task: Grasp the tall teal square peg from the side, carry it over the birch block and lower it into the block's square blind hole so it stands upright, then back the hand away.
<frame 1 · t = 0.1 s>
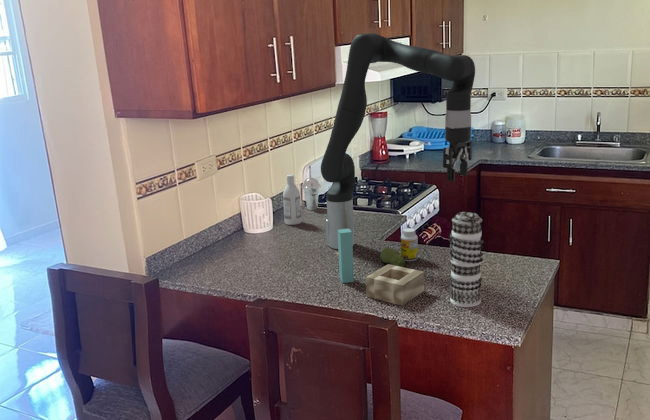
hand: (457, 178, 187), 29 cm above the worktop, tool pointing down, fingers open, 8 cm apart
peg: (346, 280, 189), on the worktop
decorative candle: (465, 301, 171), on the worktop
pear: (393, 265, 201), on the worktop
socket block: (395, 293, 178), on the worktop
supplement bottle: (409, 259, 205), on the worktop
bath foam: (293, 223, 252), on the worktop
cup with straw: (312, 209, 272), on the worktop
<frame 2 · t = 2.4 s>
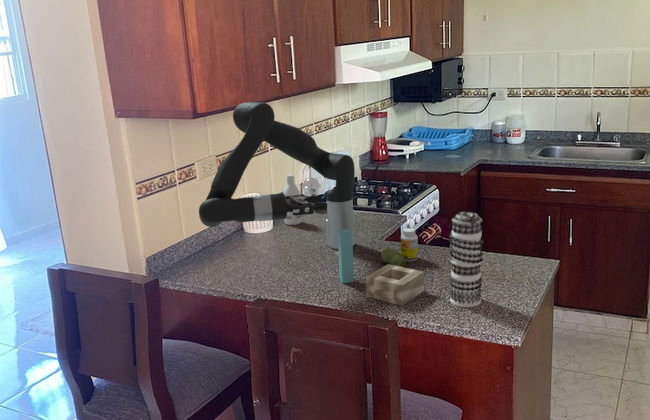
hand: (323, 202, 181), 26 cm above the worktop, tool horizontal, fingers open, 8 cm apart
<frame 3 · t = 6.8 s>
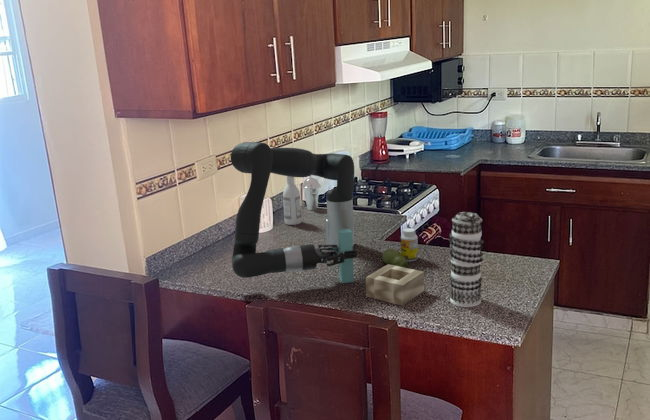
hand: (354, 251, 187), 9 cm above the worktop, tool horizontal, fingers closed on peg, 3 cm apart
peg: (346, 280, 189), on the worktop, touching gripper
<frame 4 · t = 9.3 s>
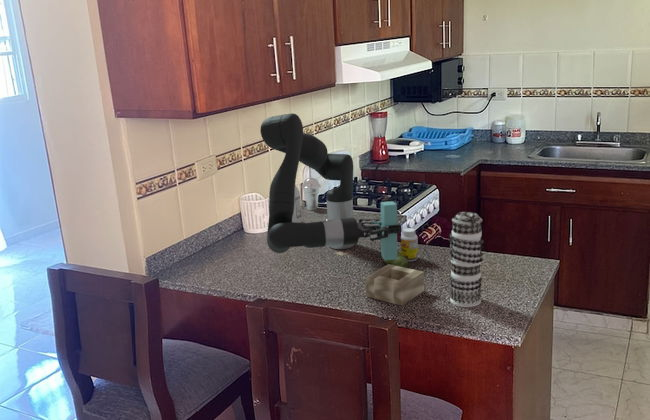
hand: (398, 226, 173), 20 cm above the worktop, tool horizontal, fingers closed on peg, 3 cm apart
peg: (389, 257, 175), point 11 cm above the worktop, touching gripper
when the fingers open (12 cm above the worktop, at t = 11.7 s): peg stays where it is, resting on socket block.
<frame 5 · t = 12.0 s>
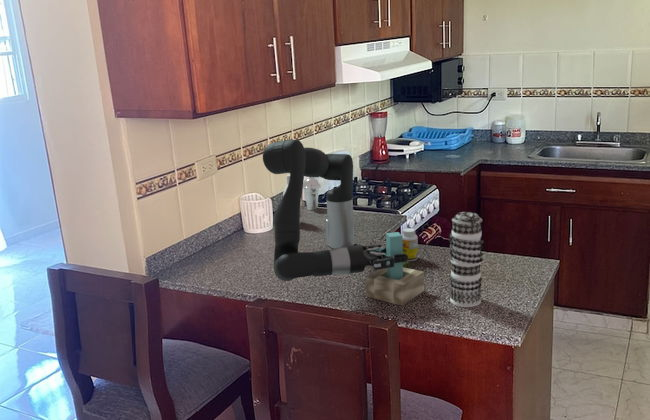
hand: (402, 253, 175), 12 cm above the worktop, tool horizontal, fingers open, 6 cm apart
peg: (394, 287, 177), point 2 cm above the worktop, touching socket block
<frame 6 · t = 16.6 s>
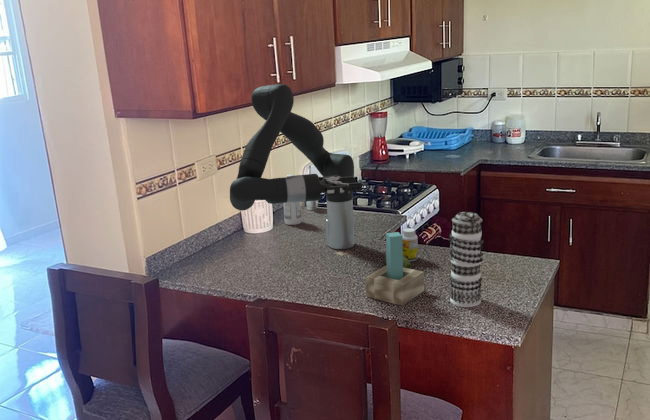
hand: (358, 183, 174), 32 cm above the worktop, tool horizontal, fingers open, 8 cm apart
at the end: peg 0.0 cm off-centre on the socket block, point 2.0 cm above the socket block's base; peg tilted 0°; the gripper is holding nothing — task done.
